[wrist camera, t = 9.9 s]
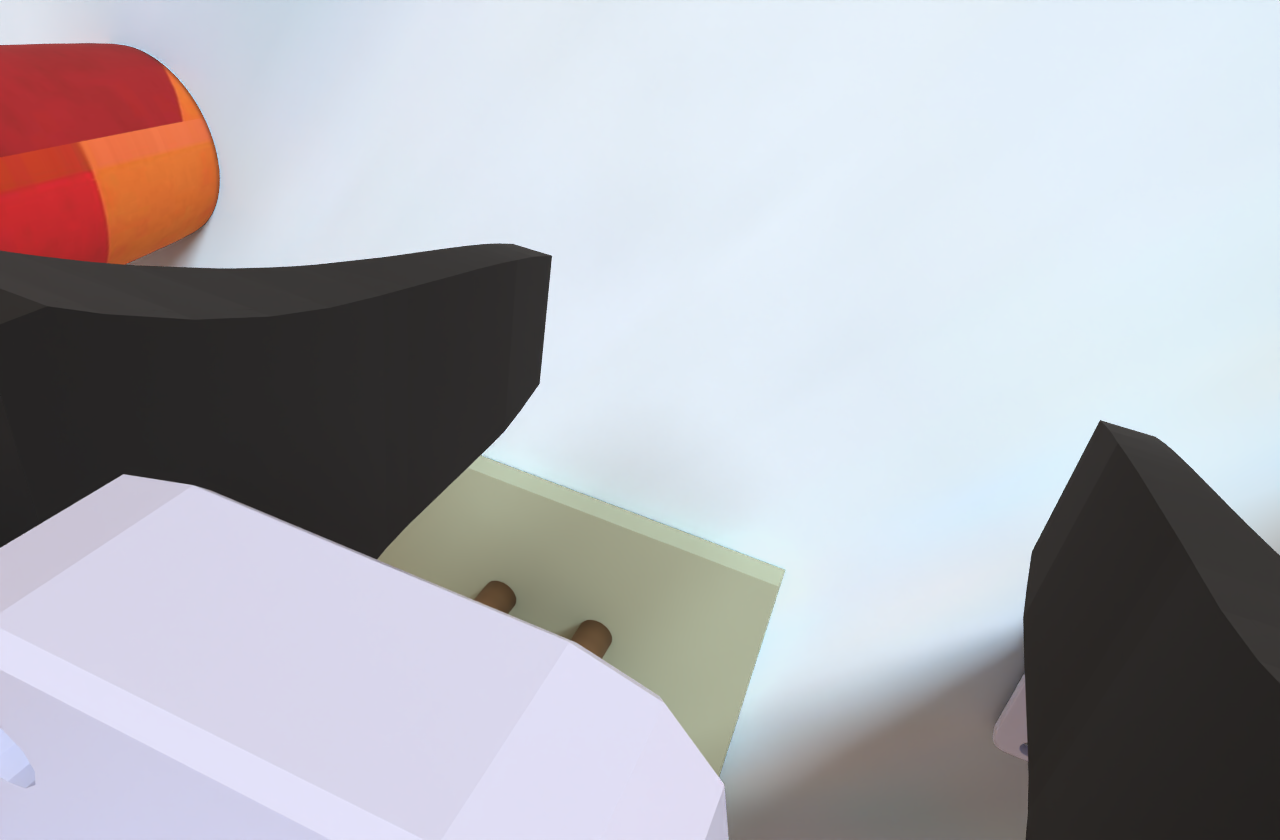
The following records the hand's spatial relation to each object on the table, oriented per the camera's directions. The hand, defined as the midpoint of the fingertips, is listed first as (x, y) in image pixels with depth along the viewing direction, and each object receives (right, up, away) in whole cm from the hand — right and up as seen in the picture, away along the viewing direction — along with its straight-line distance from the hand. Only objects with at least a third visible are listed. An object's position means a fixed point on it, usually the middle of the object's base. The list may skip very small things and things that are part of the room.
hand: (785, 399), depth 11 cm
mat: (-5, -9, +20) cm, 23 cm away
